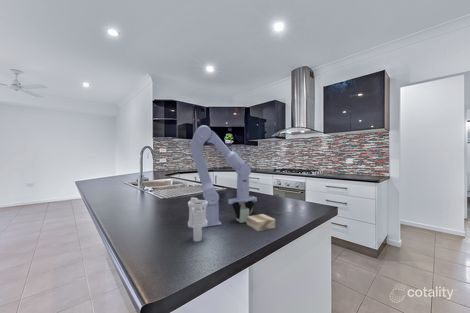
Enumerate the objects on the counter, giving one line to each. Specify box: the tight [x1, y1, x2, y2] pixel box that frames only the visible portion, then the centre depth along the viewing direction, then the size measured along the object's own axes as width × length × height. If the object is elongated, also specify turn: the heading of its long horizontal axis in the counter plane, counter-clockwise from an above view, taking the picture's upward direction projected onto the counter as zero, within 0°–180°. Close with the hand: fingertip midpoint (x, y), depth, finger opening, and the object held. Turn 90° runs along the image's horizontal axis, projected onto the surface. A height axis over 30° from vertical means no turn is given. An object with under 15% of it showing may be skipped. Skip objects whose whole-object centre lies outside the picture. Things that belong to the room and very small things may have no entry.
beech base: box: [246, 213, 277, 232], centre depth 88 cm, size 9×9×4 cm
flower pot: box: [239, 195, 255, 215], centre depth 108 cm, size 9×9×9 cm
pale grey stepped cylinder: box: [187, 197, 208, 242], centre depth 73 cm, size 7×7×15 cm
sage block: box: [235, 207, 250, 224], centre depth 95 cm, size 4×4×6 cm
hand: (242, 217), depth 95 cm, fingers closed on sage block, 4 cm apart
